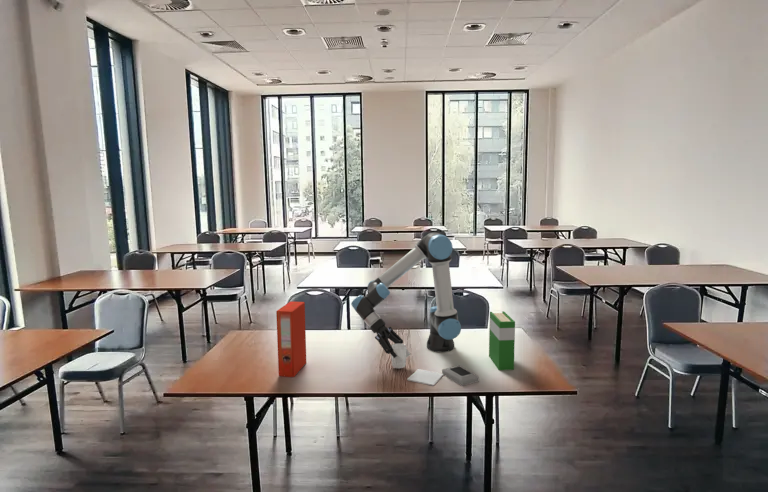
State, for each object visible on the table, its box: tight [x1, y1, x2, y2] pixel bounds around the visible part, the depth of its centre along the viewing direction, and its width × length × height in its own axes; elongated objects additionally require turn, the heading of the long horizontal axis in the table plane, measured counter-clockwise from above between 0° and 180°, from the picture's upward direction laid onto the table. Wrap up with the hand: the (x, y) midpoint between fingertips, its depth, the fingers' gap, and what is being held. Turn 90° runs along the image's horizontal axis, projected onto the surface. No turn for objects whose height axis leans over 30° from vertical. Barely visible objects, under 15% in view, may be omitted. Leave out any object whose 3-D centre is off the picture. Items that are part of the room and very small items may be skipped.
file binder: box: [275, 301, 307, 378], centre depth 223 cm, size 8×17×32 cm, turn 170°
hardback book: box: [488, 311, 516, 371], centre depth 228 cm, size 18×7×24 cm, turn 2°
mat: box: [406, 368, 445, 387], centre depth 213 cm, size 13×13×1 cm
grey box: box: [441, 364, 480, 387], centre depth 213 cm, size 10×4×15 cm
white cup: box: [390, 343, 408, 369], centre depth 224 cm, size 8×8×10 cm
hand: (404, 358), depth 222 cm, fingers closed on white cup, 8 cm apart
